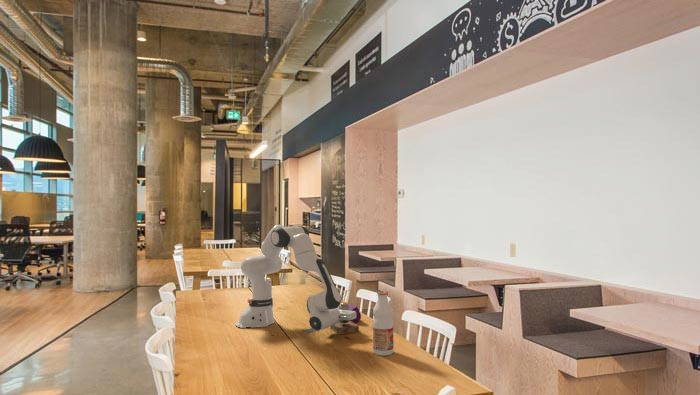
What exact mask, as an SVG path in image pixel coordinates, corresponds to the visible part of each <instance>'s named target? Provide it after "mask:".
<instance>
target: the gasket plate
mask: <svg viewBox="0 0 700 395" xmlns="http://www.w3.org/2000/svg"><path fill="white" fill-rule="evenodd" d="M301 331H302V332H305V333H306V334H307V333H308V334H311V333H316V332H320V330H314V329H313V328H312V327H310V328H307V329H302V330H301Z"/></svg>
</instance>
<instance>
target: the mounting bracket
mask: <svg viewBox="0 0 700 395" xmlns="http://www.w3.org/2000/svg"><path fill="white" fill-rule="evenodd" d="M349 310H352V311H356V318H355V319H353V320H349V321H351V322H353V323H355V324H358V323H359V322H360V321H361V318H362V314H361V312H360V310H359V307H358V306H357V305H356V304H354V303H350V304H349Z"/></svg>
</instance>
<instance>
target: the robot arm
mask: <svg viewBox="0 0 700 395" xmlns="http://www.w3.org/2000/svg"><path fill="white" fill-rule="evenodd" d="M284 248H285V249H286V248H292V251H293V254H294V259H295V263H296V265H297V266H298V268H299V269H300V270H302V271H306V272H315V273H316V274H317V275H318V276H319V278H320V280H321V283H322V285H323V288H324V290H322V291H320V292H316V293H314V294H311V295H309V296H308V298H307V300H306V309H307V311H308V314H309V319H308V323H309V326H310V328H313V329H314V330H319V331H323V330H326V329H328V328H330V326H333V325H335V324H337V323H338V322H339V321H340V320H353V319H355V318H356V311H352V310H341V309H339V305H340V303H342V294H341V292H340V291H339V290H338V288H337V285H336V283H335V282H334V280H333V277H332V275H331V273H330V271H329V268H328V266H327V264H326V262H325V261H324V260H323V259H321V258H320V257H319V256H318V254H317V252H316V249H315V246H314V243H313V241H312V239H311V237H310V232H309V229H308V228H307V227H305V226H303V225H302V226H301V225H297V226H296V225H289V226H284V225H282V224H276V225H274V226H273V227H271V229H270V231H268V233H267V235H266V236H265V238H264V240H263V242H262V243H261V246H260V250H261V254H262V255H258V256H257V255H256V256H250V257H247V258H244V259H243V260H242V262H241V264H240V270H241V272H242V274H243V275H244V276H246V277H247V278H248V280H249V281H250V284H251V290H252V291H251V292H252V298H251V299H250V298H248V299H247V300H246V301H247V303H248V306H247V307H246V308H245V309H243V310H242V311H241V313H240V314H239V317H238V320H236V321H235V322H234V324H235V327H236V326H237V327H236V328H238V327H240V328H239V329H246V327H251V328H265V327H269V326H271V325H273V324H274V323H275V317H274V311H273V307H274V300H273V297H272V296H273V291H272V290H273V289H272V288H273V287H272V286H273V285H272V284H271V283H270V282H269V281H268V280H266V279H265V275H269V274H270V275H271V274H274V273H277V272H279V271H281V270H282V267H283V261H282V258H281V257H280V254H281V251H282V249H284Z"/></svg>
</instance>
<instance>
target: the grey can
mask: <svg viewBox="0 0 700 395" xmlns="http://www.w3.org/2000/svg"><path fill="white" fill-rule="evenodd" d="M349 305H350V304H349V303H348V302H343V301H341V303H340V305H339V307H338V309H341V310H349ZM339 322H340V323H348V322H349V320H340V321H339Z"/></svg>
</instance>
